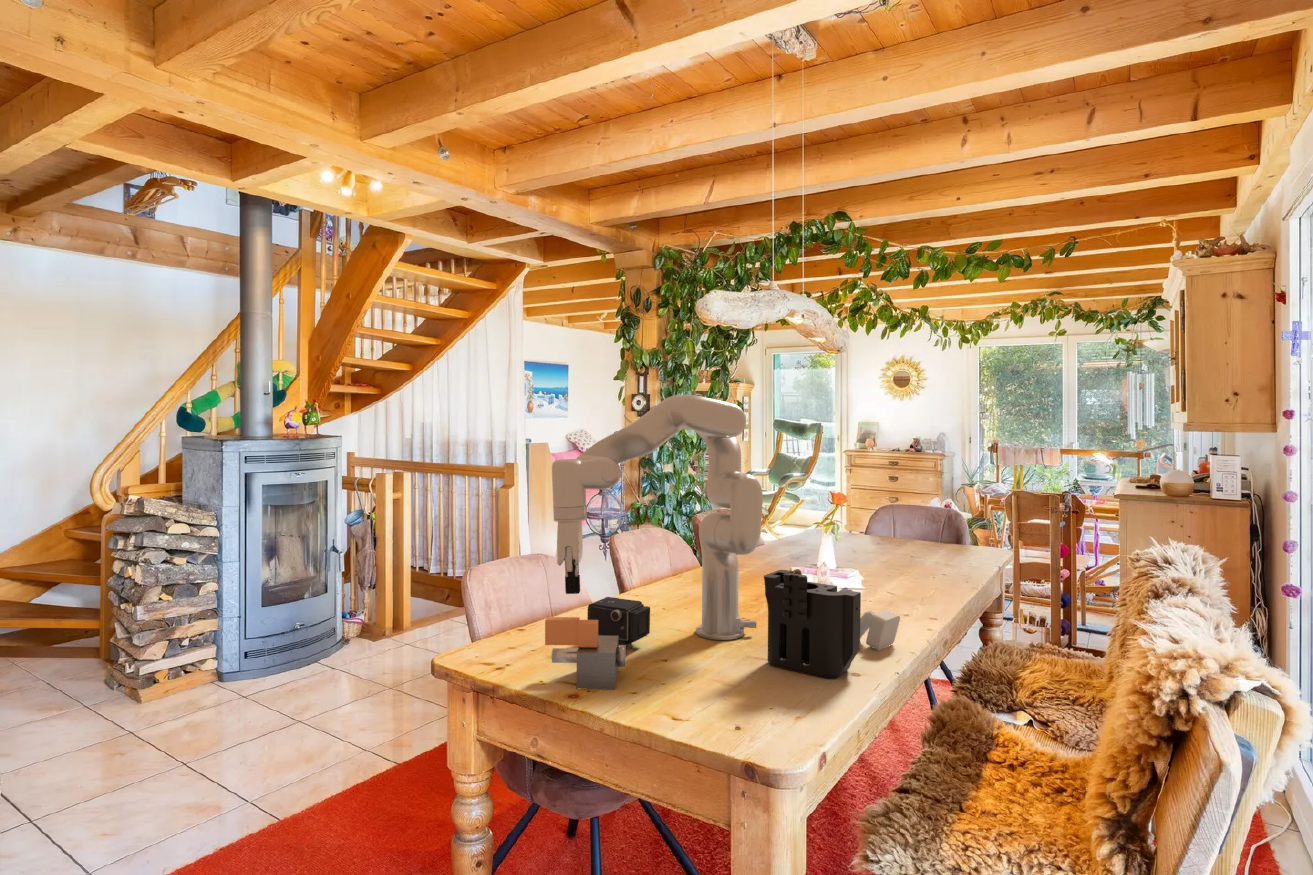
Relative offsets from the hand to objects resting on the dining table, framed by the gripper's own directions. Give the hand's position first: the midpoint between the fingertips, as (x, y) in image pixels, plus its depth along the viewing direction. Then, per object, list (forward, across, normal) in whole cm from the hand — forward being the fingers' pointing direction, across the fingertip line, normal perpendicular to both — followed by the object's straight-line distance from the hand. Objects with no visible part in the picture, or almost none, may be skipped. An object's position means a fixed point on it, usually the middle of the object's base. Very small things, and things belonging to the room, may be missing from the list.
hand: (573, 592), depth 168 cm
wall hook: (+20, -15, +72) cm, 76 cm away
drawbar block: (+16, +11, +6) cm, 20 cm away
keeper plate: (+8, +12, +1) cm, 15 cm away
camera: (+17, -13, +9) cm, 23 cm away
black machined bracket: (+18, +4, +53) cm, 56 cm away
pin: (+13, +11, +4) cm, 18 cm away
